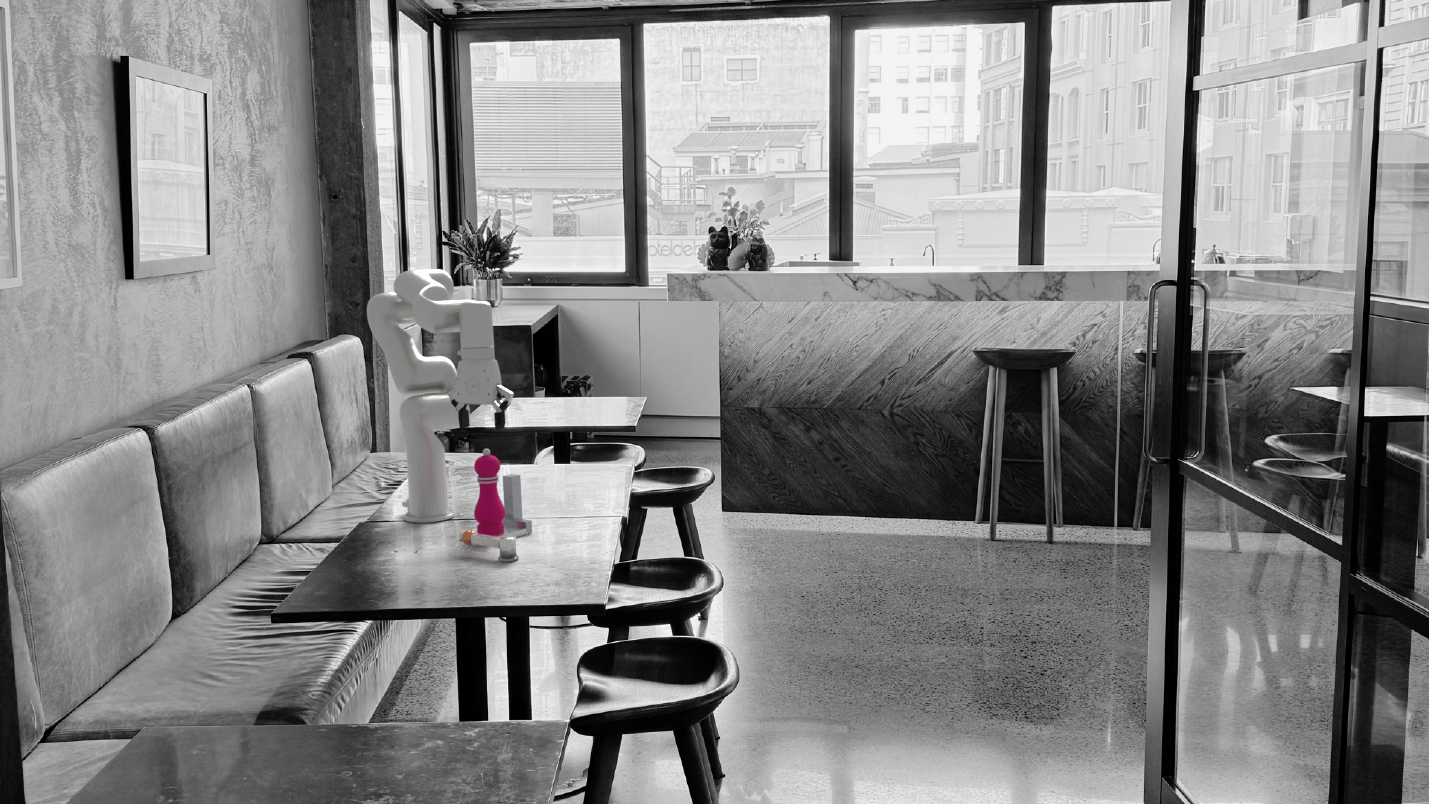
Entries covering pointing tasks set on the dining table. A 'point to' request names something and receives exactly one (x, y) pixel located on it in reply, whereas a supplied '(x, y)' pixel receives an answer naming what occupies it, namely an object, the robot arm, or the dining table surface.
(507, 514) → the press bed
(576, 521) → the dining table surface
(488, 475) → the pepper mill
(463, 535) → the lever
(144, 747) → the dining table surface
